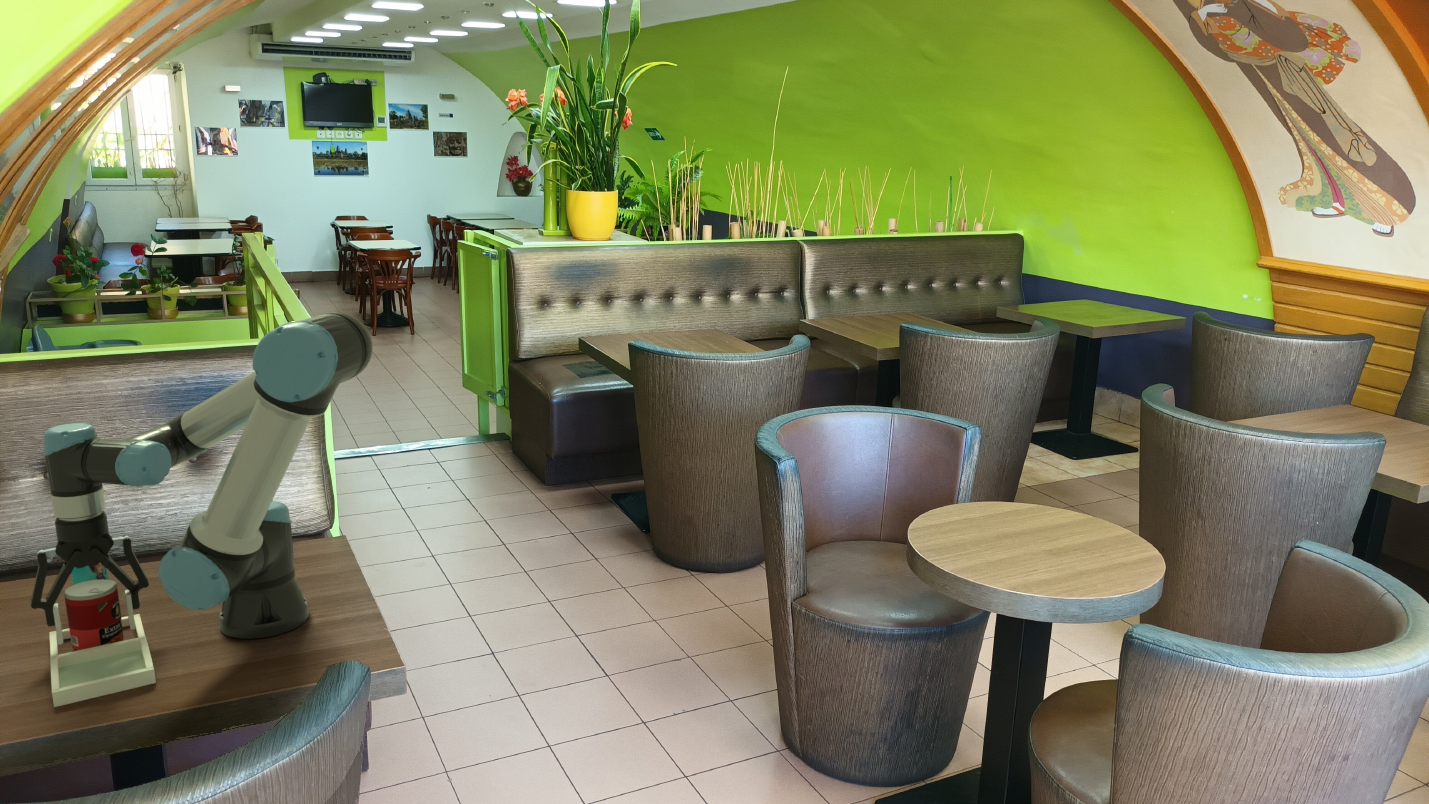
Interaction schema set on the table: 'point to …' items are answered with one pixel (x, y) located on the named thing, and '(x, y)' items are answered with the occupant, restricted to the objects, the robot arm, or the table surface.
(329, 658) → the table surface
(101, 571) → the beverage can
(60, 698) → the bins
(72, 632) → the canned food
